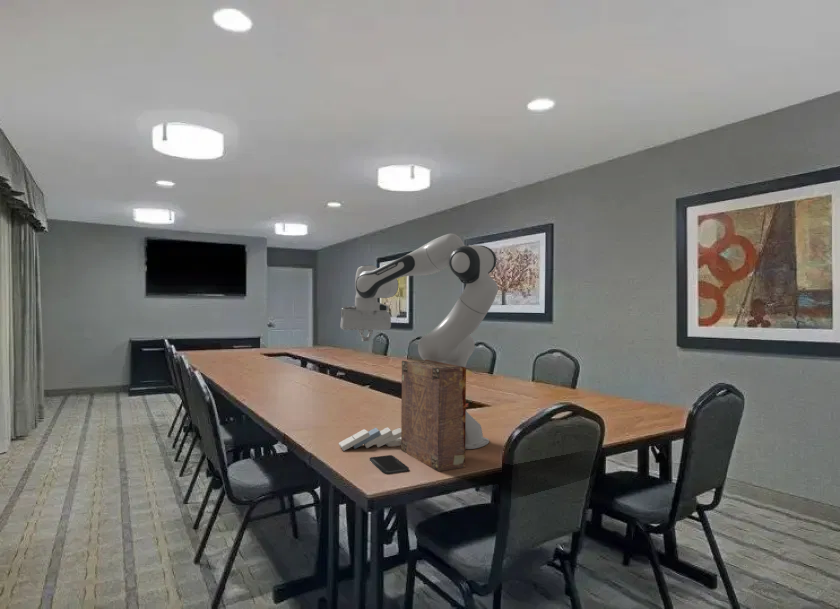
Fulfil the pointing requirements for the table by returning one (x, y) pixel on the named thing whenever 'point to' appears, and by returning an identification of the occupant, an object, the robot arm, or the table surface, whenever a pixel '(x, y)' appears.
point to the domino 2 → (373, 434)
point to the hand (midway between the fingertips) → (365, 341)
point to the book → (434, 413)
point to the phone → (389, 464)
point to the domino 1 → (354, 439)
